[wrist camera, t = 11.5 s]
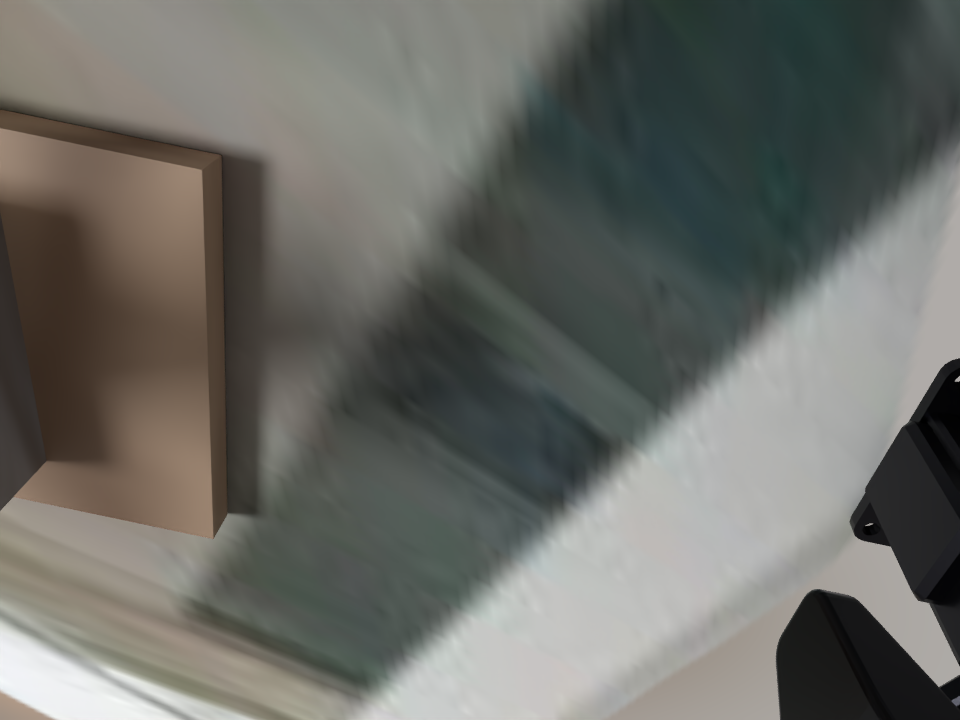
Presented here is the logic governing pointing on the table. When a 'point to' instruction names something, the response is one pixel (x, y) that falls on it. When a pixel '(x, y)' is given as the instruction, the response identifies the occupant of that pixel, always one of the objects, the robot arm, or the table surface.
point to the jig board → (112, 325)
